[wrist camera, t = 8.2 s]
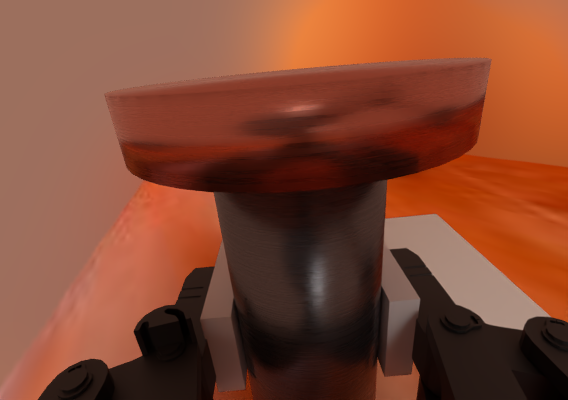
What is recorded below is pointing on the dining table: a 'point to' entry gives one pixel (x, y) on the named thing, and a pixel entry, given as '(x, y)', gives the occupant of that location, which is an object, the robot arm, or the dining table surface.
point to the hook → (304, 195)
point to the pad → (462, 270)
